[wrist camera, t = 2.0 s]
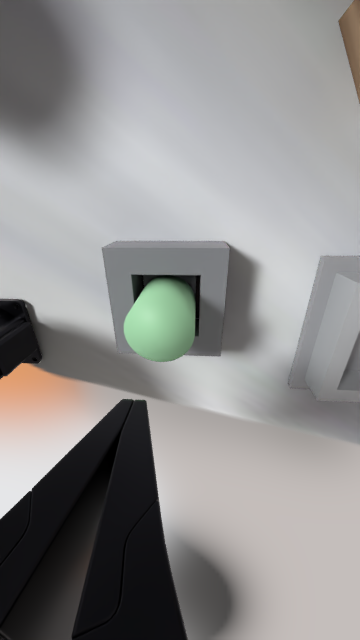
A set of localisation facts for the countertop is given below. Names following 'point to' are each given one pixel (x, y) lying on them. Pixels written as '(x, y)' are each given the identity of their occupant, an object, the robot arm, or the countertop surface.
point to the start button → (162, 320)
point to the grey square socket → (331, 333)
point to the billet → (352, 39)
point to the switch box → (176, 260)
